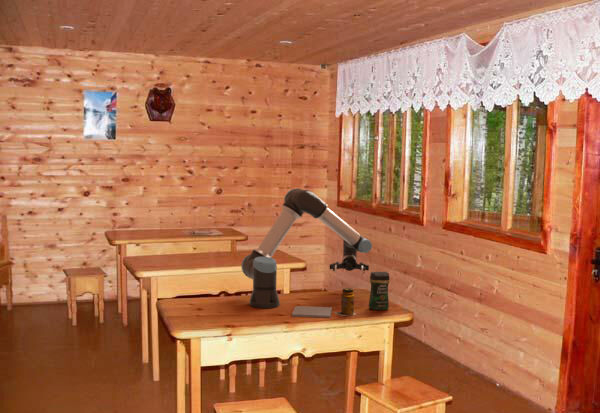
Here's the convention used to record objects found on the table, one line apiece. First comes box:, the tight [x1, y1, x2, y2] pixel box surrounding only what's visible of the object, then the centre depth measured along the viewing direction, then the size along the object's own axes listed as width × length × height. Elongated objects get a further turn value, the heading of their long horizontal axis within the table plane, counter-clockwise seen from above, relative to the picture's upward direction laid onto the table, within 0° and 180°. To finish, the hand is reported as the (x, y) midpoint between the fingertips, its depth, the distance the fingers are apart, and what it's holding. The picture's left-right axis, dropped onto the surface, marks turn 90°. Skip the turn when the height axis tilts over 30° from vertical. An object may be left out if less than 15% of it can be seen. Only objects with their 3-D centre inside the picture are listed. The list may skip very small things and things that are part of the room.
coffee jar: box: [368, 271, 391, 311], centre depth 321 cm, size 10×8×19 cm
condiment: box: [334, 287, 357, 317], centre depth 311 cm, size 7×8×12 cm
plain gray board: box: [291, 305, 333, 319], centre depth 312 cm, size 18×16×1 cm
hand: (348, 270), depth 329 cm, fingers open, 13 cm apart
